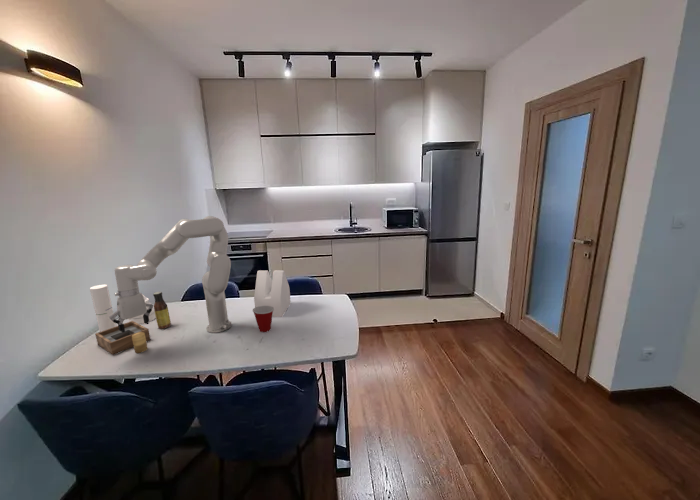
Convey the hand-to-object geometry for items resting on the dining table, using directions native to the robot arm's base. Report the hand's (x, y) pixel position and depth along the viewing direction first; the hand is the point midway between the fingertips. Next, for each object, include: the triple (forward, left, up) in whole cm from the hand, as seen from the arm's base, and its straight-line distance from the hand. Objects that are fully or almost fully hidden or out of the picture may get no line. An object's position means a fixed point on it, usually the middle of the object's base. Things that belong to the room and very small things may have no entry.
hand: (134, 327), depth 138 cm
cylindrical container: (+39, -1, -12) cm, 41 cm away
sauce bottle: (+16, -19, -12) cm, 27 cm away
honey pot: (+37, -17, -12) cm, 42 cm away
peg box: (+16, 0, -12) cm, 20 cm away
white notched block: (-21, -65, -12) cm, 69 cm away
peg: (0, -1, -12) cm, 12 cm away
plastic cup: (-36, -45, -12) cm, 59 cm away
